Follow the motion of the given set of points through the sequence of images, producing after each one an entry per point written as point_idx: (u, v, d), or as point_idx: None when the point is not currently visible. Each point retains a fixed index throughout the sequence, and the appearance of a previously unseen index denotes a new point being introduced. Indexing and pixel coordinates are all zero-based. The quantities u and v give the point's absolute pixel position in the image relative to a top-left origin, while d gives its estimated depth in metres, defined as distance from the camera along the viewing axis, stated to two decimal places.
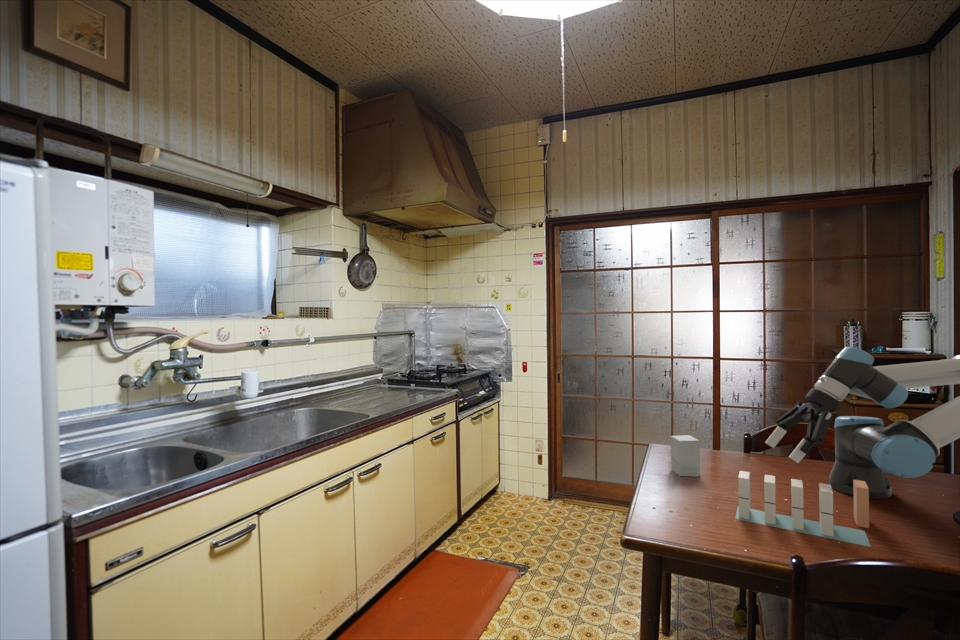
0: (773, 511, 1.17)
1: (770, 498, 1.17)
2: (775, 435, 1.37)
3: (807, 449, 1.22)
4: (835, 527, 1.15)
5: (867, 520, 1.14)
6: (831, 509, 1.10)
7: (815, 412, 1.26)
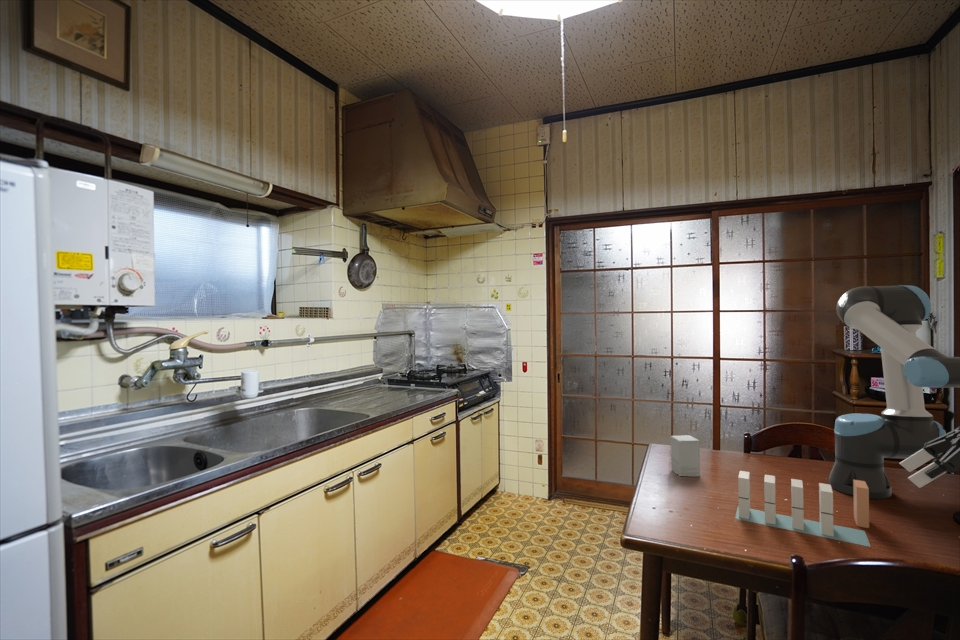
0: (773, 511, 1.17)
1: (770, 498, 1.17)
2: None
3: None
4: (835, 527, 1.15)
5: (867, 520, 1.14)
6: (831, 509, 1.10)
7: None
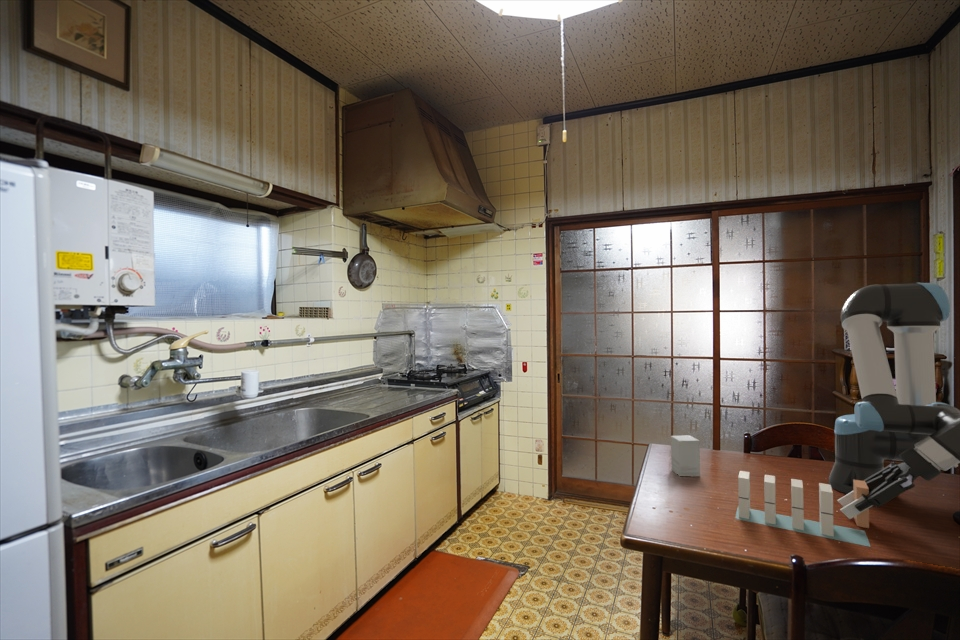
0: (773, 511, 1.17)
1: (770, 498, 1.17)
2: None
3: None
4: (835, 527, 1.15)
5: (867, 520, 1.14)
6: (831, 509, 1.10)
7: None
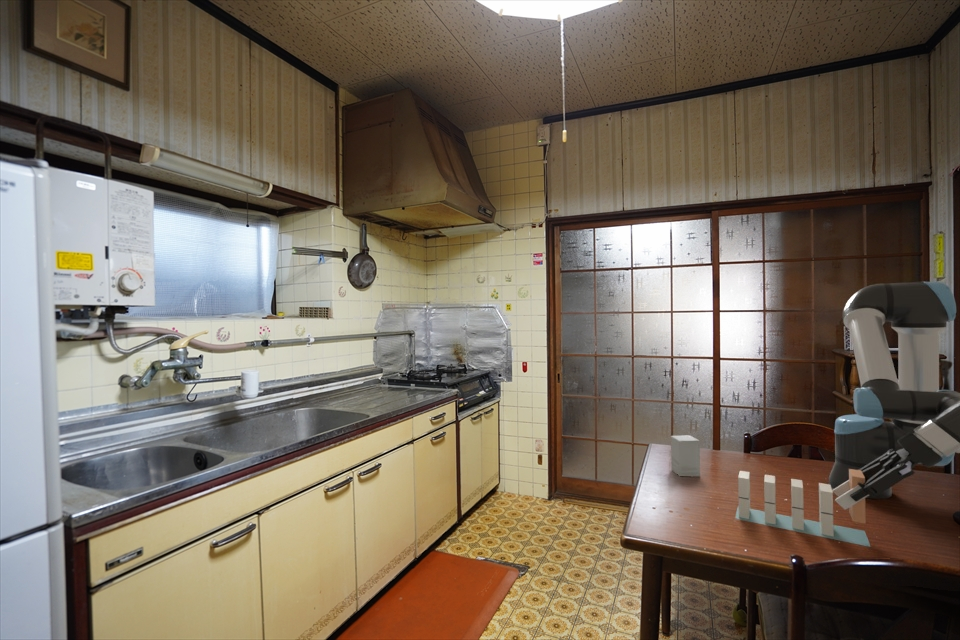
0: (773, 511, 1.17)
1: (770, 498, 1.17)
2: None
3: None
4: (835, 527, 1.15)
5: (863, 512, 1.06)
6: (831, 509, 1.10)
7: None
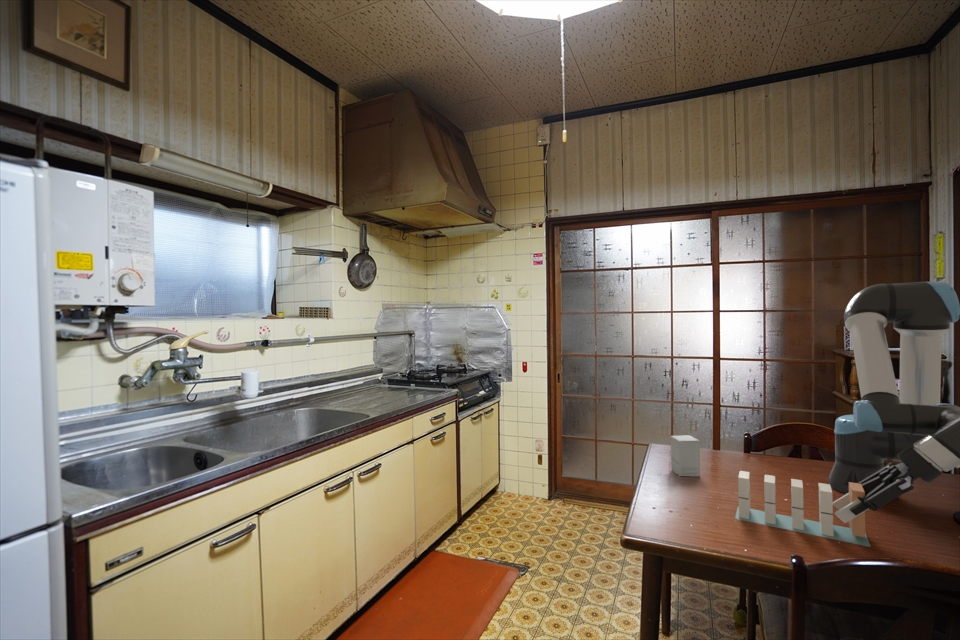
0: (773, 511, 1.17)
1: (770, 498, 1.17)
2: None
3: None
4: (835, 527, 1.15)
5: (863, 525, 1.06)
6: (831, 509, 1.10)
7: None
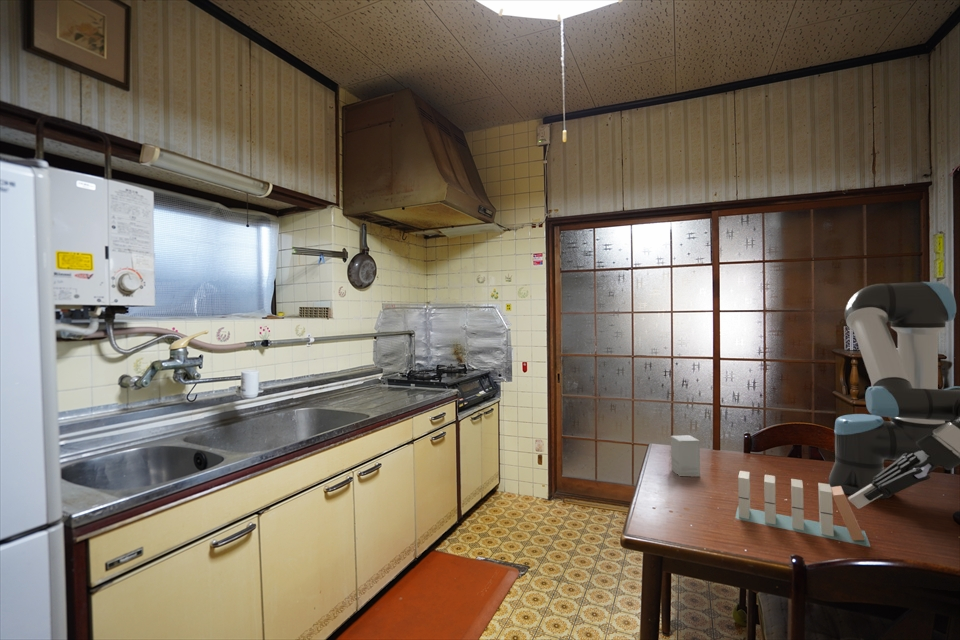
0: (773, 511, 1.17)
1: (770, 498, 1.17)
2: None
3: None
4: (835, 527, 1.15)
5: (857, 528, 1.07)
6: (830, 509, 1.10)
7: None
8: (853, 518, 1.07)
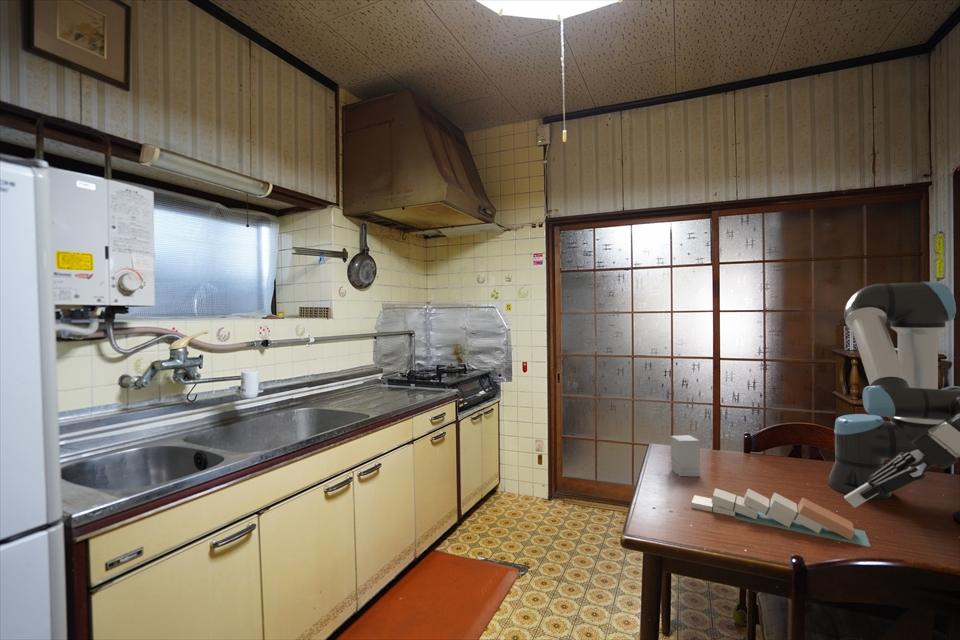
0: (743, 507, 1.21)
1: (729, 504, 1.23)
2: None
3: None
4: None
5: (841, 526, 1.09)
6: (792, 510, 1.14)
7: None
8: (830, 520, 1.10)
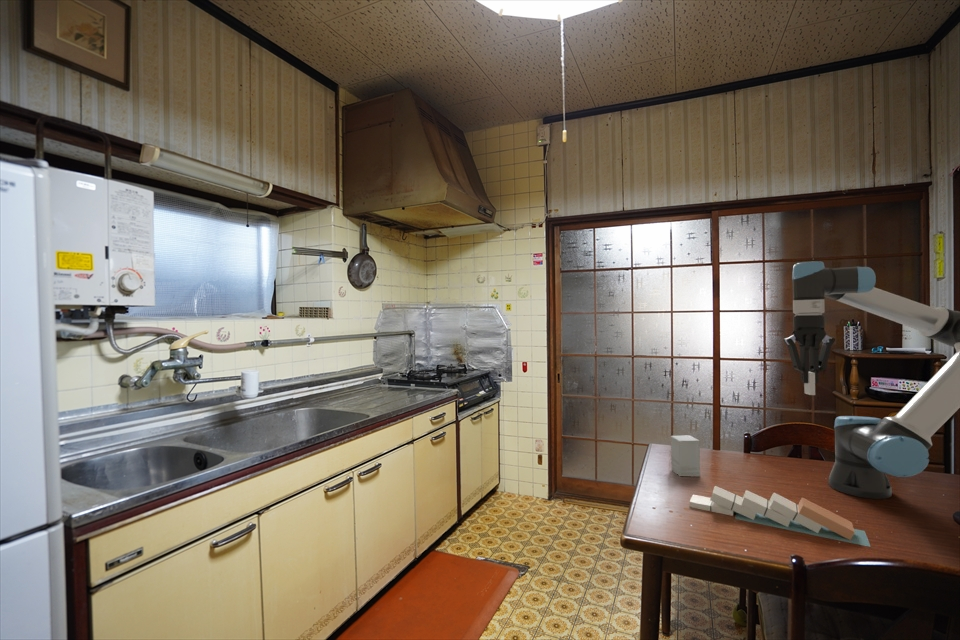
0: (742, 507, 1.21)
1: (727, 503, 1.23)
2: None
3: None
4: None
5: (841, 526, 1.09)
6: (791, 510, 1.15)
7: (821, 335, 1.29)
8: (829, 520, 1.10)
